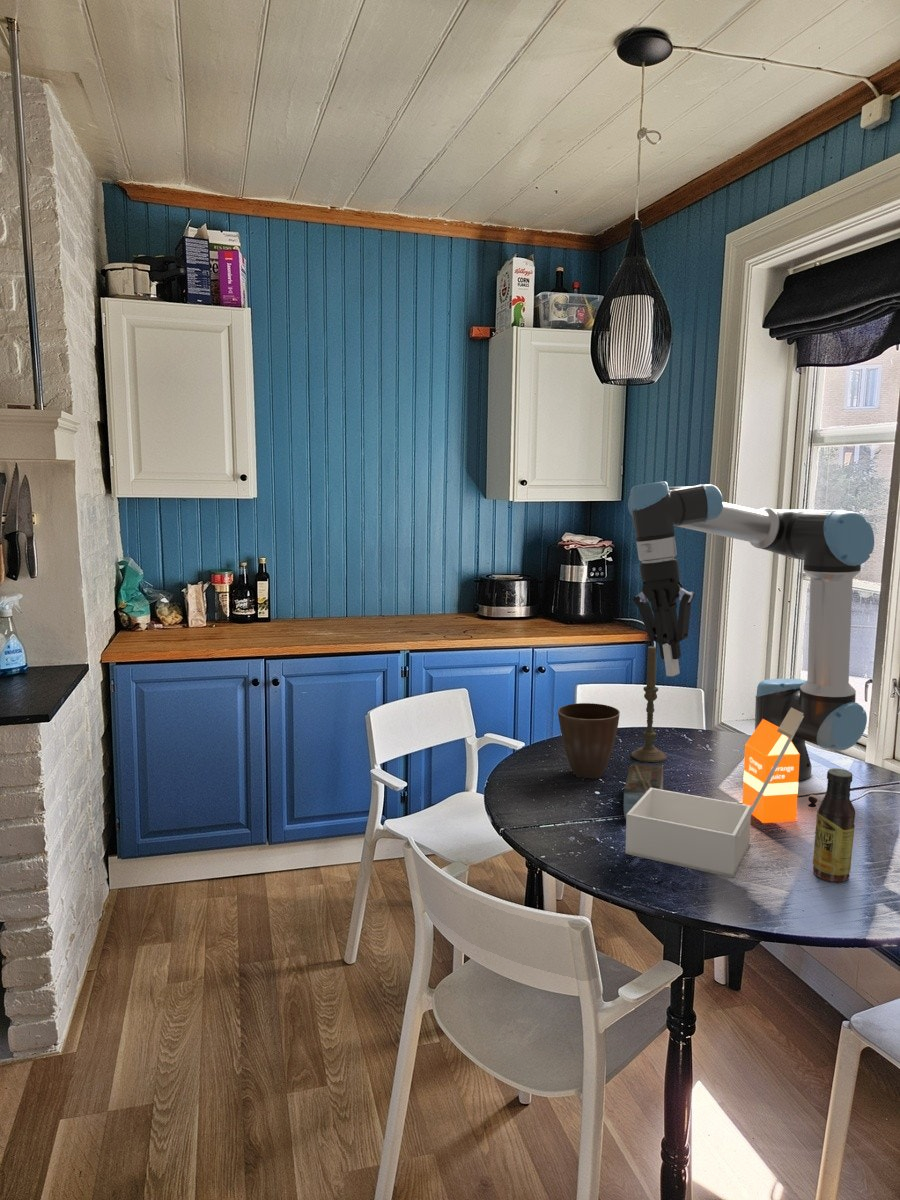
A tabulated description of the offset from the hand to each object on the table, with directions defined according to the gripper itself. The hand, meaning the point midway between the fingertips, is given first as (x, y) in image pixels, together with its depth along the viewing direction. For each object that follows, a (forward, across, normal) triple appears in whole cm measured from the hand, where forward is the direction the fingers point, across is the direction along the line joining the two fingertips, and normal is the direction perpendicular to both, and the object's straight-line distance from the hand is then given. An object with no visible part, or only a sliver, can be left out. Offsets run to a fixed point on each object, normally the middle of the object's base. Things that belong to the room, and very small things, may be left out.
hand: (673, 674), depth 166 cm
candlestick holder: (+31, -30, +33) cm, 55 cm away
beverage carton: (+32, -15, +5) cm, 35 cm away
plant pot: (+29, -34, +12) cm, 47 cm away
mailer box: (+32, +4, -10) cm, 34 cm away
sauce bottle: (+37, +28, -2) cm, 46 cm away
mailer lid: (+16, +18, -5) cm, 25 cm away
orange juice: (+35, +8, +18) cm, 40 cm away
